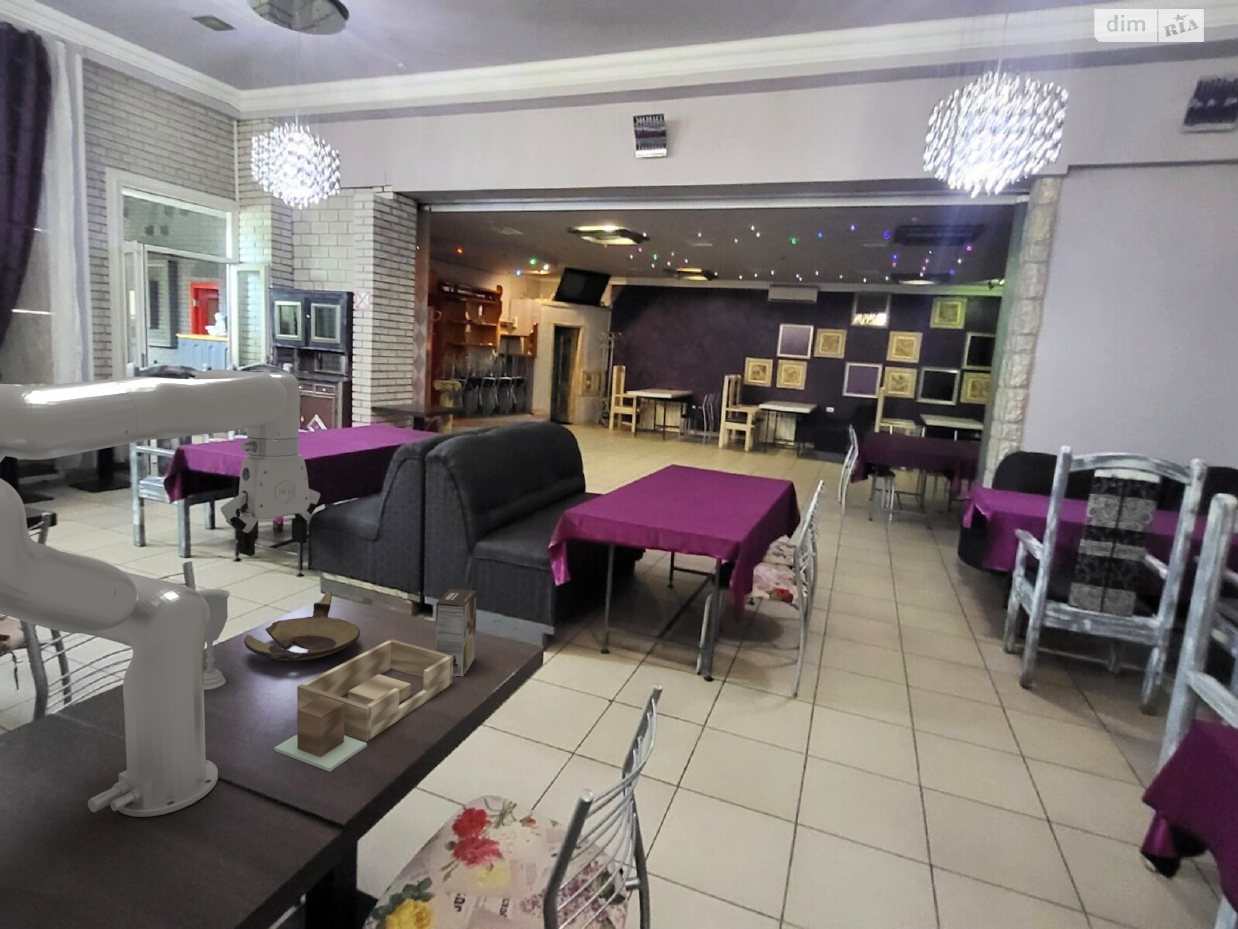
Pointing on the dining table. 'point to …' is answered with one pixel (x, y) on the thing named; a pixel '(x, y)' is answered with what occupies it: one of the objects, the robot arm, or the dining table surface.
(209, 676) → the chalice
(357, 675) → the crate
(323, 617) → the broken brown bowl
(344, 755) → the mat
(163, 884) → the dining table surface
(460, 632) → the coffee box
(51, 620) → the robot arm
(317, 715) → the block
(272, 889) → the dining table surface
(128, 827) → the dining table surface
